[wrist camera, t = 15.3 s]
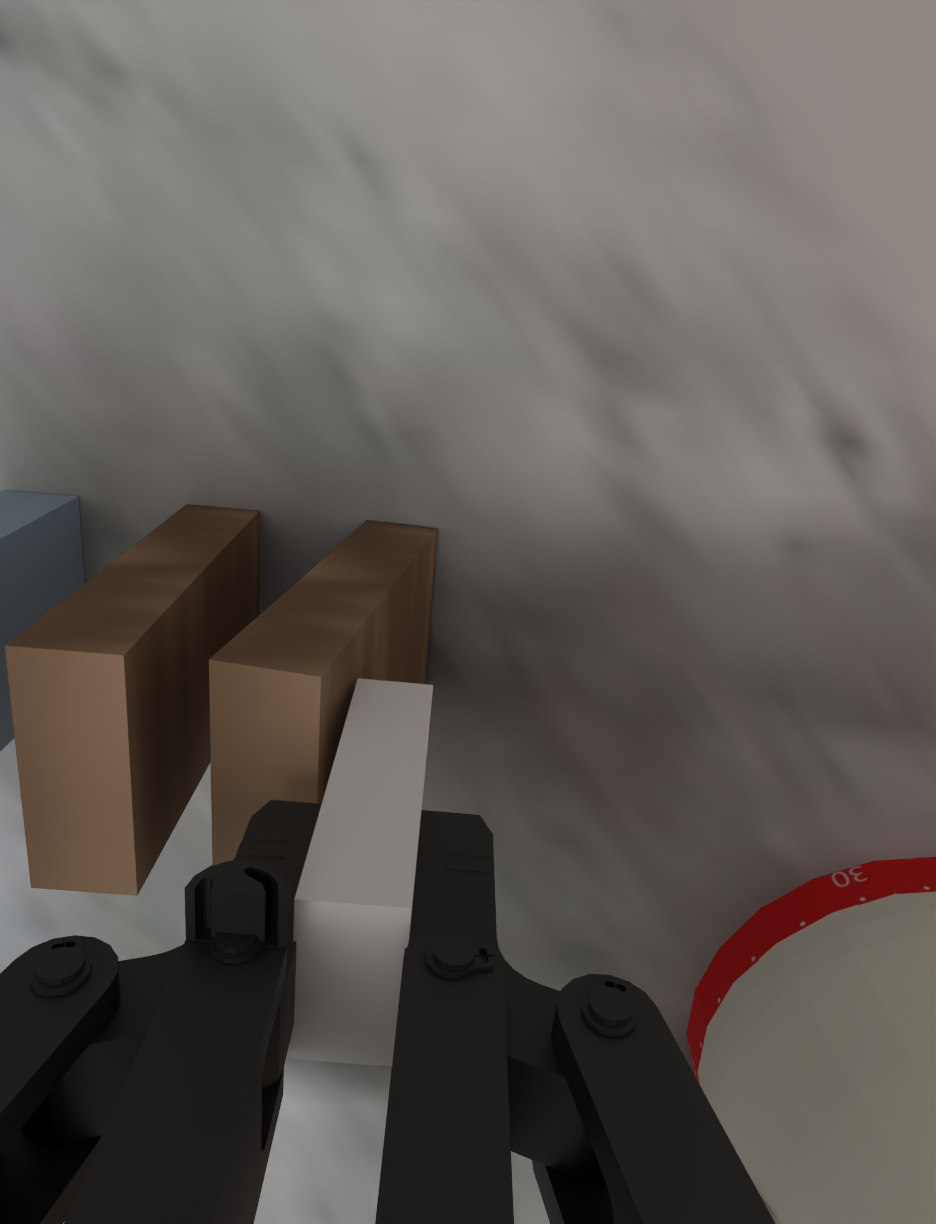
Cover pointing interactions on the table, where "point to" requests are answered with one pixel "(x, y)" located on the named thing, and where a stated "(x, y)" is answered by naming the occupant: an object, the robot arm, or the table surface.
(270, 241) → the table surface
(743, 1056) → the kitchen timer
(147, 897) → the table surface
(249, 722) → the domino
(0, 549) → the domino
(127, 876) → the domino
